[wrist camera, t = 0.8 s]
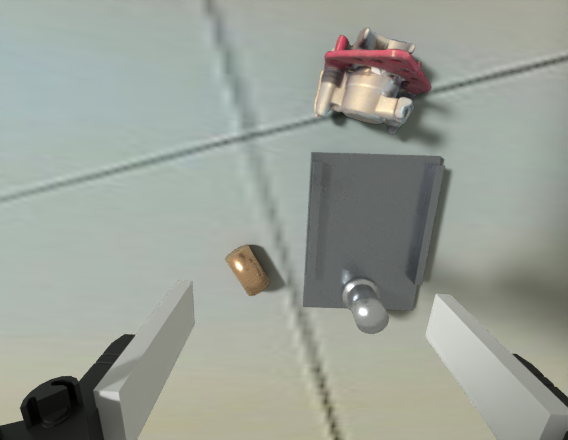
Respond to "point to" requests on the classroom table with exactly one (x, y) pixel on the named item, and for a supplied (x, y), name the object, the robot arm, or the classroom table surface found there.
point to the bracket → (369, 232)
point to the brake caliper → (371, 80)
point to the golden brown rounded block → (247, 270)
